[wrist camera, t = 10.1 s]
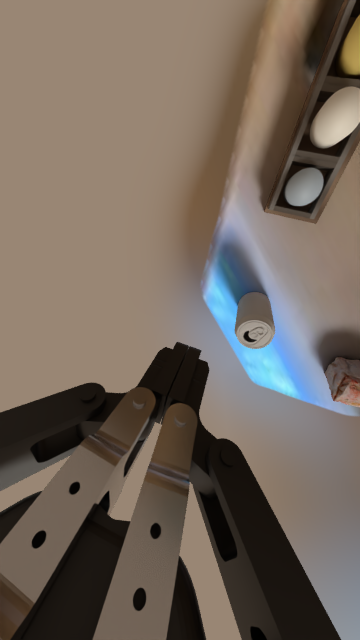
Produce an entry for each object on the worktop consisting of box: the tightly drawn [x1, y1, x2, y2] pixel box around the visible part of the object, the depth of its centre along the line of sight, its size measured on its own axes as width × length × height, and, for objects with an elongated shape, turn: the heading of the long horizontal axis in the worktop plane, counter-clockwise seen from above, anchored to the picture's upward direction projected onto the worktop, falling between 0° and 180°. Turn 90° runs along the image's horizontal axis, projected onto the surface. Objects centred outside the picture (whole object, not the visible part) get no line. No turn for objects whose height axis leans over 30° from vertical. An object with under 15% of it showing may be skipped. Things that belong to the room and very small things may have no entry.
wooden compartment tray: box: [264, 0, 360, 224], centre depth 25 cm, size 20×8×5 cm, turn 169°
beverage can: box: [235, 292, 275, 349], centre depth 37 cm, size 6×6×12 cm
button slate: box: [283, 168, 323, 206], centre depth 27 cm, size 4×4×3 cm
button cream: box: [310, 86, 360, 149], centre depth 22 cm, size 4×4×3 cm
